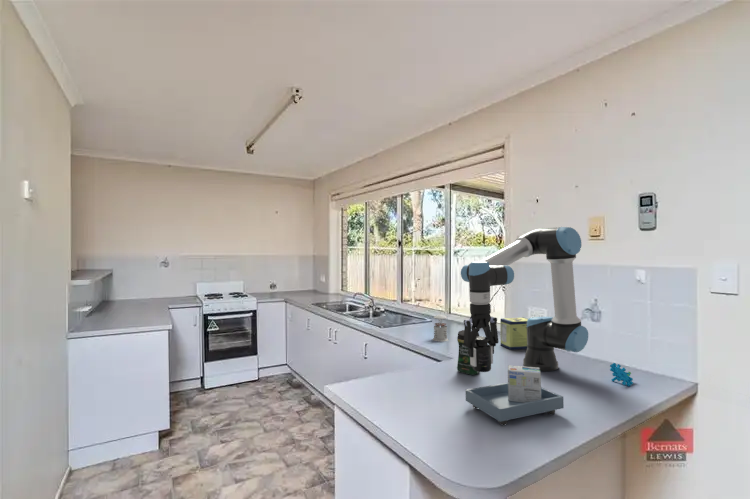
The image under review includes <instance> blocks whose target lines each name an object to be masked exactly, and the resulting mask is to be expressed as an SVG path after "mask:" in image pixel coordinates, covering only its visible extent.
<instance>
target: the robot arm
mask: <svg viewBox="0 0 750 499" xmlns="http://www.w3.org/2000/svg"><path fill="white" fill-rule="evenodd" d="M581 248H582V238H581V236H580V234H579V232H578V231H577V230H576V229H575V228H573V227H571V226H570V227H567V226H560V227H559V226H558V227H556V226H555V227H546V228H545V227H544V228H543V227H542V228H537V229H534V230H531V231H529V232H527V233H525V234H523V235H521V236H519V237H517V238H516V239H515V240H514V242H513V243H510V244H509V245H508V246H506V247H503V248H501V249H500V250H498V251H496V252H494V253H491V255H488V256H487V257H485V258H483V259H480V260H479V261H472V262H470V263H469V264H464V265H463V266H462V268H461V270H460V277H461V279H462V281H464V282H466V283H469V302H470V304H469V313H470V318H469V319H464V320H463V325H464V329H463V330H464V344H463V345H464V346H465V347H467V348H468V352H469V357H470V365H472V366H474V367H476V349H475V348H474V346H475V342H476V339H477V335H478V333H479V332H480V330H481V329H482V330H483V332H484V337H487V338H488V343H487V344H488V345H489V346H490V348H491V365H492V364H494V353H495V347H496V346H497V344H499V336H498V326H497V322H498V317H495V316H491V314H492V309H491V308H492V306H491V287H493V286H495V287H496V286H506V285H509V284H511V283H512V282H514V279H515V272H514V270H513V268H512V267H511V266H510V265H512V264H513V263H515V262H517V261H519V260H521V259H523V258H529V257H530V256H532V255H533V256H534V255H545V257H546V261H548V262H550V269H551V270H550V272H551V283H552V297H553V306H554V307H553V308H554V316H533V317H530V318H527V319H528V320H527V349H526V350H525V351H526V352H525V354H524V358H523V360H522V362H523V363H522V365H523V367H537V368H540V372H541V371H542V372H552V371H553V372H555V371H557V370H558V369H559V362H558V360H557V357H556V353H555V349H559V350H561V351H562V350H563V351H566V352H570V353H571V352H573V353H580V352H581V351H583V350H584V349H585V348H586V346H587V343H588V341H589V331H588V329H587V328H586V326H584V325H582V320H581V318H580V317H578V316H577V303H576V290H575V279H574V278H575V276H574V265H573V264H574V263H573V262H574V260H575V259H576V258H577V254H579V253H580V251H581Z"/></svg>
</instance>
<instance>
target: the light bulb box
mask: <svg viewBox="0 0 750 499" xmlns="http://www.w3.org/2000/svg"><path fill="white" fill-rule="evenodd" d="M541 374H542V372H541V371H540V368H537V367H525V366H524V365H523V366H521V365H520V366H519V365H510V364H508V366H507V383H508V401H515V402H523V403H526V402H531V401H536V400H541V387H542V377H541V376H542V375H541Z"/></svg>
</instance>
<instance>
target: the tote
mask: <svg viewBox="0 0 750 499" xmlns="http://www.w3.org/2000/svg"><path fill="white" fill-rule="evenodd" d="M465 402H467V403H468V404H471V405H472V407H473V408H474V407H475V408H474V409H476V408H479V411H482V412H484V413H485V414H487V415H489V416H491V418H494V419H495V420H497V423H498V424H500V425H501V426H506V425H507V424H508V421H511V420H514V419H519V418H523V417H528V416H529V417H530V416H533V415H537V414H543V413H547V414H549V415H551V416H553V415H555V413H556V411H557V410H562V409H564V396H563V395H560V394H558V393H556V392H553V391H551V390H549V389H546V388H545V387H542V386H541V400H536V401H531V402H526V403H523V402H515V401H508V382H504V383H503V382H502V383H497V384H491V385H485V386H479V387H473V388H468V389H465ZM505 424H506V425H505Z"/></svg>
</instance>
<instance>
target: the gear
mask: <svg viewBox="0 0 750 499" xmlns="http://www.w3.org/2000/svg"><path fill="white" fill-rule="evenodd" d="M609 367H610V368H609V371H611V372H612V377H613V378H611V381H612V382H615V381H616V380H617V382H620V381H622V382H621V384H622V385H623V386H628V387H631V386H632V385H633V384H634V382H633V381H634V378H633V377H631V374H632V373H631V371H628V372H627V371H626V370H627V369H626V368H625V367H622V365H621V364H618V363H615V362H613V363H612V364H610V365H609ZM621 367H622V368H621Z"/></svg>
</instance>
